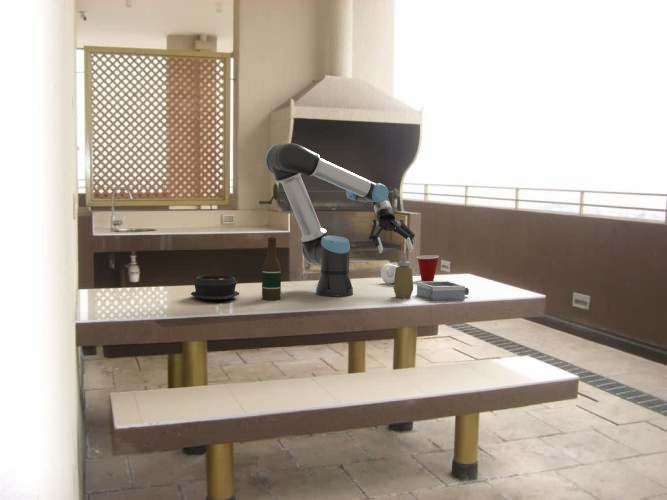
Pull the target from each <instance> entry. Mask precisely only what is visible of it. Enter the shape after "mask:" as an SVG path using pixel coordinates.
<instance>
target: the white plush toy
mask: <svg viewBox="0 0 667 500" xmlns="http://www.w3.org/2000/svg"><path fill="white" fill-rule="evenodd" d="M397 267H399V266H398V265H396V264H393V263H385V264H384V265H383V266H382V267H381V269H380V276H381V279H382V281H383V282H384V283H385V284H387V285H394V279H395V271H396V268H397Z"/></svg>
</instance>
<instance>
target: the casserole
mask: <svg viewBox="0 0 667 500" xmlns="http://www.w3.org/2000/svg"><path fill="white" fill-rule="evenodd" d="M192 284H193V285H194V289H195V291H192V292H191V293H190V295H191V296H192V297H195V298H198V299H201V300H204V301H210V302H211V301H218V302H219V301H226V300H231V299H233V298H235V297H238V296H239V295H240V292H239V291H236V286H237V284H238V281H237V280H236V277H235V276H232V275H227V274H204V275H203V274H202V275H197V276H195V278H194V280H193V282H192Z"/></svg>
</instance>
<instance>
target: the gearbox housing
mask: <svg viewBox="0 0 667 500" xmlns="http://www.w3.org/2000/svg"><path fill="white" fill-rule="evenodd" d="M416 282H417V283H416V296H419V297H421V298H424V299H425V300H426V299H427V300H429V301H432V302H438V301H439V302H441V301H465V296H467V295H469V293H470V290H469V288H468V287H466V285H465V286H464V285H463V284H459V283H456V282H452V281H449V280H444V281H443V280H439V281H437V280H436V281H434V280H433V281H416Z"/></svg>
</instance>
